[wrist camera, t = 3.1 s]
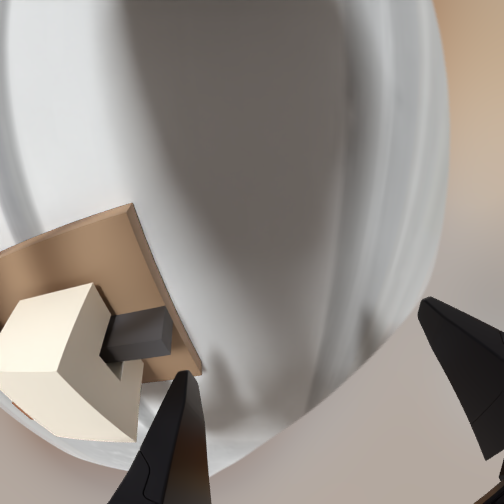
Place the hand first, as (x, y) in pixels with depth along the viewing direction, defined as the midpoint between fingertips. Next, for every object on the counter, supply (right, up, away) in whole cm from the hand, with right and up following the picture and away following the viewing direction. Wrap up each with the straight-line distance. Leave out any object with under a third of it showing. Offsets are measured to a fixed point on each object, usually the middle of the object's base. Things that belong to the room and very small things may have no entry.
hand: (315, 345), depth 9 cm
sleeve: (-11, -1, +2) cm, 11 cm away
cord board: (-17, -2, +3) cm, 17 cm away
